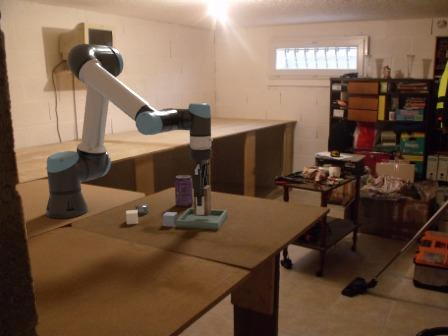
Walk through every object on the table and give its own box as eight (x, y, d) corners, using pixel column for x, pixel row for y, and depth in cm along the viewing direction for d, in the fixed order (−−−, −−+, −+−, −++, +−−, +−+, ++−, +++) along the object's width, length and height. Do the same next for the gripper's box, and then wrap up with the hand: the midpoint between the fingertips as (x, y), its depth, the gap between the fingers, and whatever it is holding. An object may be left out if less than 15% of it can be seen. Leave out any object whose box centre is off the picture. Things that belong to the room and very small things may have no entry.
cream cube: (126, 224, 155) (126, 213, 154) (126, 221, 159) (126, 210, 158) (138, 223, 155) (137, 212, 155) (138, 220, 159) (137, 209, 159)
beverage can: (184, 201, 182) (183, 173, 180) (196, 204, 178) (195, 176, 175) (172, 205, 177) (170, 176, 174) (184, 208, 172) (183, 179, 170)
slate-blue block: (163, 226, 152) (162, 215, 152) (167, 222, 156) (166, 211, 155) (174, 226, 152) (173, 215, 151) (177, 223, 155) (177, 212, 155)
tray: (176, 227, 151) (176, 220, 150) (189, 214, 165) (188, 208, 165) (218, 229, 148) (218, 223, 147) (227, 216, 162) (227, 210, 161)
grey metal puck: (133, 214, 166) (132, 207, 165) (138, 210, 171) (138, 203, 170) (145, 215, 165) (145, 207, 164) (150, 211, 170) (150, 204, 169)
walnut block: (194, 215, 154) (193, 188, 152) (198, 211, 159) (197, 184, 157) (207, 216, 153) (207, 188, 151) (211, 212, 158) (210, 185, 156)
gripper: (204, 152, 142) (206, 220, 146) (217, 144, 159) (218, 205, 163) (182, 151, 143) (185, 219, 148) (197, 143, 160) (199, 204, 165)
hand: (202, 211), depth 156 cm, fingers closed on walnut block, 5 cm apart
